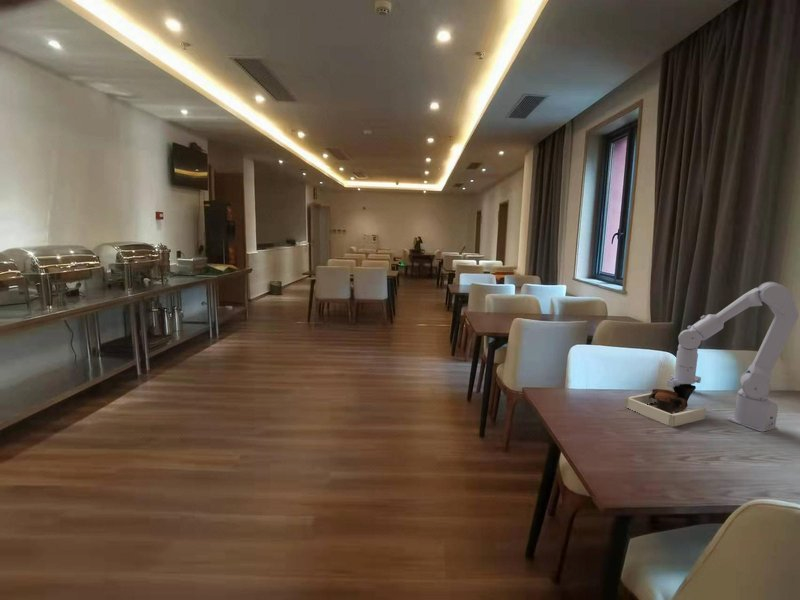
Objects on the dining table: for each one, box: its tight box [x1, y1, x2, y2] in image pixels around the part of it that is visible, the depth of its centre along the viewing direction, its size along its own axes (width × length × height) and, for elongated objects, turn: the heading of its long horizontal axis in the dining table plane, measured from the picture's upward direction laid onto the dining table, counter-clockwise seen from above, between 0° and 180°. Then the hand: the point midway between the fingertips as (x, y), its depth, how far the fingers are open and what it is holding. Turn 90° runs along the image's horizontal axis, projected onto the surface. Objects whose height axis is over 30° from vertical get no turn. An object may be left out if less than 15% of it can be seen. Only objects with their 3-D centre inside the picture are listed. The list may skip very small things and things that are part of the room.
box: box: [624, 392, 707, 428], centre depth 136 cm, size 16×16×4 cm
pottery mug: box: [649, 388, 689, 414], centre depth 137 cm, size 12×10×8 cm
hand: (681, 405), depth 140 cm, fingers closed
